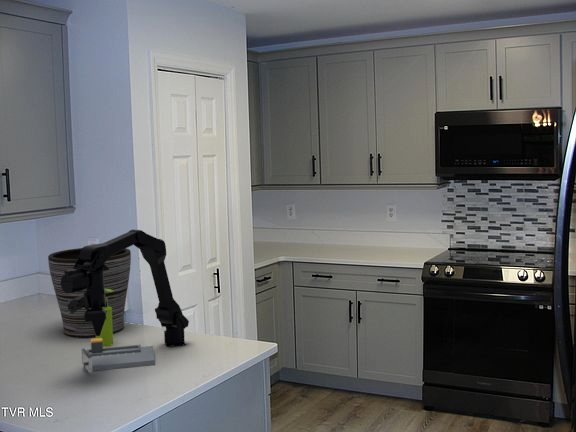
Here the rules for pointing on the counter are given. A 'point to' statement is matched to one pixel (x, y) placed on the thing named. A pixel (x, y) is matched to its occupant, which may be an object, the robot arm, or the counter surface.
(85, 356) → the rack door
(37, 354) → the counter surface
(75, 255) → the planter pot
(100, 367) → the console
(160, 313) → the robot arm
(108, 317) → the soap dispenser
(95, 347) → the fader knob
